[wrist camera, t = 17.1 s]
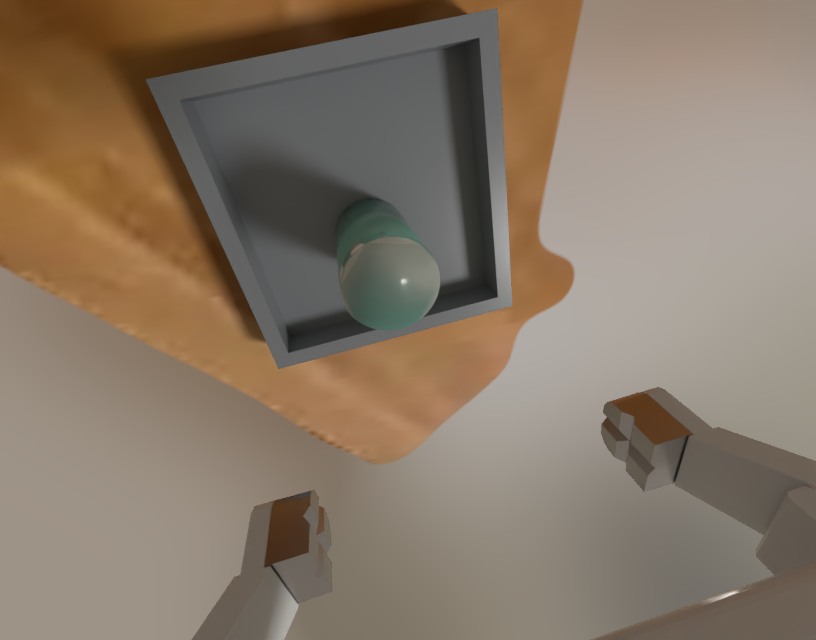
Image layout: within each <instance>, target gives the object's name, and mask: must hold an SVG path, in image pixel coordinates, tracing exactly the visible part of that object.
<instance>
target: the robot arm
mask: <svg viewBox="0 0 816 640" xmlns="http://www.w3.org/2000/svg"><path fill="white" fill-rule="evenodd" d="M603 413H604V414H605V415H606V416H607V418H606V419H605V420H604V422H603V423H602V426H601V434H602V437H603V440H604V443H605V444H606V446H607V448H608V450H609V451H610V452H611V453H612V454H613V456H614V457H616V458H618V459H620V460H622V461H624V462H626V471H627V472H628V474H629V475H630V476H631V477H632V478H633V479H634V481H635V482H636V483H637V484H638V485H639V486H640V488H641V489H642V490H643V491H644V492H645V491H648V490H652V489H656V488H659V487H663V486H666V485H669V484H673V483H675V485H676V486H678V487H679V488H681V489H683V490H684V491H686V492H688V493H690V494H692V495H693V496H695V497H697V498H699V499H701V500H702V501H704V502H706V503H708V504H709V505H711V506H713V507H715V508H716V509H718V510H720V511H722V512H724V513H725V514H727V515H729V516H731V517H733V518H734V519H736V520H738V521H740V522H741V523H743V524H745V525H747V526H748V527H750V528H752V529H754V530H756V531H757V532H759V533H761V534H763V535H764V536H763V537H762V539H761V541H760V543H759V545H758V546H757V548H756V556H757V558H759V560H760V561H761V562H762V563H763V564H764V565H765V566H766V567H767V568H768V569H769V570H770V571H771V572H772V573H773V574H774V576H772V577H769V578H766V579H763V580H760V581H757V582H754V583H751V584H749V585H746V586H743V587H740V588H737V589H734V590H732V591H729V592H726V593H723V594H720V595H717V596H714V597H711V598H709V599H706V600H703V601H700V602H697V603H694V604H692V605H689V606H686V607H683V608H680V609H677V610H674V611H671V612H669V613H666V614H663V615H660V616H657V617H655V618H652V619H649V620H646V621H643V622H640V623H637V624H634V625H631V626H629V627H626V628H623V629H620V630H617V631H614V632H612V633H609V634H606V635H603V636H600V637H597V638H594V639H591V640H816V461H814V460H811V459H808V458H806V457H803V456H800V455H797V454H794V453H791V452H788V451H785V450H783V449H779V448H777V447H774V446H771V445H768V444H765V443H762V442H760V441H756V440H754V439H751V438H748V437H745V436H742V435H739V434H737V433H733V432H730V431H728V430H725V429H722V428H719V427H717V428H712V427H710V426H709V425H708V424H707V423H705V422H704V421H703V420H702V419H700V418H699V417H698V416H696V415H695V414H694V413H693V412H692V411H691V410H689V409H688V408H687V407H686V406H684V405H683V404H682V403H681V402H679V401H678V400H677V399H676V398H674V397H673V396H672V395H671V394H669V393H668V392H667V391H666V390H664V389H662V388H659V387H657V388H653V389H650V390H646V391H643V392H640V393H635V394H632V395H629V396H626V397H622V398H619V399H616V400H613V401H610V402H607V403H606V404H605V405H604V409H603ZM330 547H331V531H330V524H329V519H328V516H327V513H326V511H325V509H324V508H323V507H321V506H319V497H318V495H317V494H316V492H315V490H312V491H309V492H305V493H301V494H297V495H294V496H290V497H286V498H282V499H279V500H275V501H272V502H268V503H265V504H261V505H258V506H255V507H254V509H253V511H252V513H251V517H250V522H249V528H248V535H247V540H246V545H245V551H244V556H243V562H242V568H241V574H240V575H239V576H236V577H234V578H233V579H232V581H231V582H230V584H229V586H228V587H227V588H226V590H225V591H224V593H223V594H222V596H221V597H220V599H219V600H218V602H217V603H216V605H215V606H214V608H213V609H212V611H211V612H210V613H209V615H208V616H207V618H206V619H205V621H204V622H203V624H202V625H201V627H200V628H199V630H198V631H197V633H196V634H195V636H194V637H193V639H192V640H284V638H285V636H286V634H287V631H288V629H289V627H290V625H291V623H292V620H293V618H294V616H295V613H296V611H297V609H298V606H299V605H298V603H301V602H304V601H307V600H310V599H312V598H315V597H318V596H321V595H324V594H326V593H329V592H332V562H331V561H330V559H329V557H328V555H327V552H328V550H329V548H330Z"/></svg>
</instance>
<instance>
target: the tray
mask: <svg viewBox="0 0 816 640" xmlns="http://www.w3.org/2000/svg"><path fill="white" fill-rule="evenodd" d="M146 81H147V84H148V86H149V88H150V90H151V92H152V95H153V97H154V99H155V101H156V103H157V105H158V108H159V110H160V112H161V114H162V116H163V118H164V121H165V123H166V125H167V127H168V129H169V131H170V134H171V136H172V138H173V140H174V142H175V145H176V147H177V149H178V151H179V153H180V155H181V158H182V160H183V162H184V164H185V166H186V168H187V171H188V173H189V175H190V177H191V179H192V182H193V184H194V186H195V188H196V190H197V192H198V195H199V197H200V199H201V201H202V203H203V205H204V208H205V210H206V212H207V214H208V216H209V219H210V221H211V223H212V225H213V227H214V229H215V232H216V234H217V236H218V238H219V240H220V242H221V245H222V247H223V249H224V251H225V253H226V256H227V258H228V260H229V262H230V264H231V266H232V269H233V271H234V273H235V275H236V277H237V279H238V282H239V284H240V286H241V288H242V290H243V292H244V295H245V297H246V299H247V301H248V303H249V306H250V308H251V310H252V312H253V314H254V316H255V319H256V321H257V323H258V325H259V327H260V329H261V332H262V334H263V336H264V338H265V340H266V343H267V345H268V347H269V349H270V351H271V353H272V356H273V358H274V360H275V362H276V364H277V366H278V369H280V368H284V367H288V366H291V365H295V364H299V363H303V362H306V361H310V360H314V359H317V358H321V357H325V356H329V355H332V354H336V353H340V352H343V351H347V350H351V349H354V348H358V347H362V346H366V345H369V344H373V343H377V342H380V341H384V340H388V339H392V338H395V337H399V336H403V335H406V334H410V333H414V332H417V331H421V330H425V329H429V328H432V327H436V326H440V325H443V324H447V323H451V322H455V321H458V320H462V319H466V318H469V317H473V316H477V315H481V314H484V313H488V312H492V311H495V310H499V309H503V308H506V307H510V306H512V292H511V272H510V252H509V232H508V212H507V192H506V172H505V152H504V132H503V113H502V93H501V73H500V53H499V33H498V13H497V8H496V9H491V10H486V11H481V12H476V13H471V14H466V15H461V16H456V17H451V18H446V19H441V20H436V21H431V22H426V23H421V24H416V25H411V26H407V27H402V28H397V29H392V30H387V31H382V32H377V33H372V34H367V35H362V36H357V37H352V38H347V39H342V40H337V41H332V42H327V43H322V44H318V45H313V46H308V47H303V48H298V49H293V50H288V51H283V52H278V53H273V54H268V55H263V56H258V57H253V58H248V59H243V60H238V61H233V62H229V63H224V64H219V65H214V66H209V67H204V68H199V69H194V70H189V71H184V72H179V73H174V74H169V75H164V76H159V77H154V78H149V79H146ZM369 198H374V199H380V200H383V201H386V202H388V203H390V204H391V205H392V206H394V207H395V208H396V209H397V210H398V211H399V212H400V214H401V215H402V216H403V218H404V219H405V220H406V222H407V223H408V224H409V226H410V227H411V228H412V230H413V231H414V232H415V234H416V235H417V236H418V238H419V239H420V240H421V242H422V243H423V244H424V246H425V247H426V248H427V249H428V251H429V252H430V253H431V255H432V256H433V258H434V259H435V261H436V263H437V266H438V269H439V273H440V288H439V293H438V296H437V298H436V300H435V303H434V304H433V306H432V307H431V309H430V310H429V311H428V312H427V313H426V314H425V315H424V316H423V317H422V318H421V319H420V320H418V321H417V322H415V323H413V324H411V325H409V326H407V327H404V328H401V329H396V330H378V329H373V328H370V327H368V326H365V325H363V324H361V323H360V322H358V321H357V320H356V319H354V318H353V317H352V316H351V315H350V313H349V312H348V311H347V309H346V308H345V306H344V304H343V301H342V299H341V294H340V285H339V274H338V263H337V252H336V241H335V228H336V224H337V221H338V219H339V217H340V215H341V214H342V212H343V211H344V210H345V209H346V208H347V207H348V206H349V205H351V204H353V203H354V202H356V201H359V200H362V199H369Z"/></svg>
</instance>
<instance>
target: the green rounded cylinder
mask: <svg viewBox="0 0 816 640" xmlns="http://www.w3.org/2000/svg"><path fill="white" fill-rule="evenodd" d="M335 241H336V252H337V263H338V274H339V285H340V294H341V299H342V301H343V304H344V306H345V308H346V309H347V311H348V312H349V313H350V315H351V316H352V317H353V318H354V319H356V320H357V321H358V322H360V323H361V324H363V325H365V326H368V327H370V328H373V329H378V330H396V329H401V328H404V327H407V326H409V325H411V324H413V323H415V322H417V321H418V320H420V319H421V318H422V317H423V316H424V315H425V314H426V313H427V312H428V311H429V310H430V309H431V307H432V306H433V304H434V303H435V300H436V298H437V296H438V293H439V288H440V273H439V269H438V266H437V263H436V261H435V259H434V258H433V256H432V255H431V253H430V252H429V251H428V249H427V248H426V247H425V246H424V244H423V243H422V242H421V240H420V239H419V238H418V236H417V235H416V234H415V232H414V231H413V230H412V228H411V227H410V226H409V224H408V223H407V222H406V220H405V219H404V218H403V216H402V215H401V214H400V212H399V211H398V210H397V209H396V208H395V207H394V206H392V205H391V204H390V203H388V202H386V201H383V200H380V199H374V198H369V199H362V200H359V201H356V202H354V203H353V204H351V205H349V206H348V207H347V208H346V209H345V210H344V211H343V212H342V214H341V215H340V217H339V219H338V221H337V224H336V228H335Z"/></svg>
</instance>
